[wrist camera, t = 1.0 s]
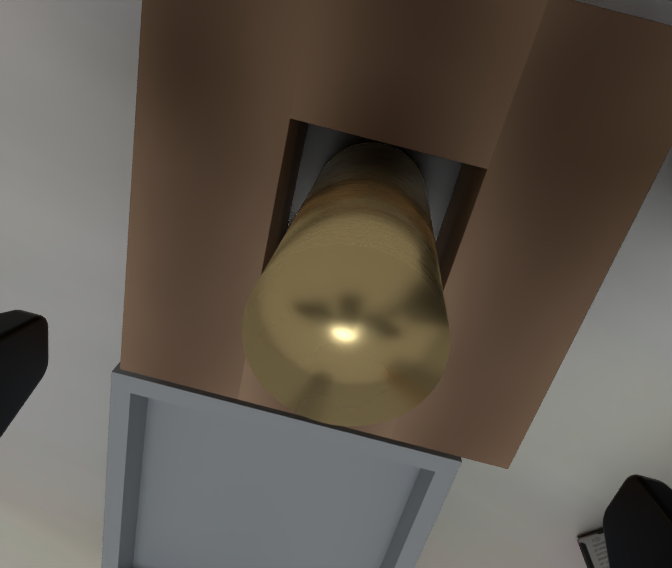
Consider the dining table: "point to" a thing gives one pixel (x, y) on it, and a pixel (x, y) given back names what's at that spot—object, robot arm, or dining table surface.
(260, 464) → the tray
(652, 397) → the dining table surface
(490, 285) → the hitch block
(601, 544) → the candy bar box
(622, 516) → the robot arm
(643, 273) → the dining table surface
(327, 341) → the pin
